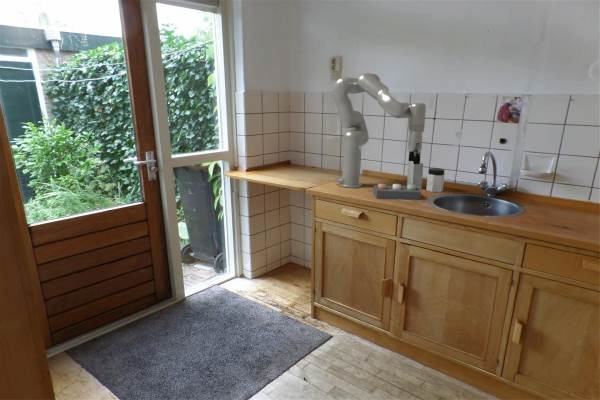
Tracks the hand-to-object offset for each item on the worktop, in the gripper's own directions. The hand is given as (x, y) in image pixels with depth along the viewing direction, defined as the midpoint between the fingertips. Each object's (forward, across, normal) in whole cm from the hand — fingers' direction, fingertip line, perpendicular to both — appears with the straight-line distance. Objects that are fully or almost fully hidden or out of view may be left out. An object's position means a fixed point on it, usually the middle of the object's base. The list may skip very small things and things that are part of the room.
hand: (413, 162), depth 200 cm
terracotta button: (+15, 0, -16) cm, 22 cm away
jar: (+18, -14, +16) cm, 28 cm away
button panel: (+18, 0, -8) cm, 19 cm away
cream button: (+15, 0, -8) cm, 17 cm away
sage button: (+15, +1, -1) cm, 15 cm away
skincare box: (+18, -20, +6) cm, 28 cm away
